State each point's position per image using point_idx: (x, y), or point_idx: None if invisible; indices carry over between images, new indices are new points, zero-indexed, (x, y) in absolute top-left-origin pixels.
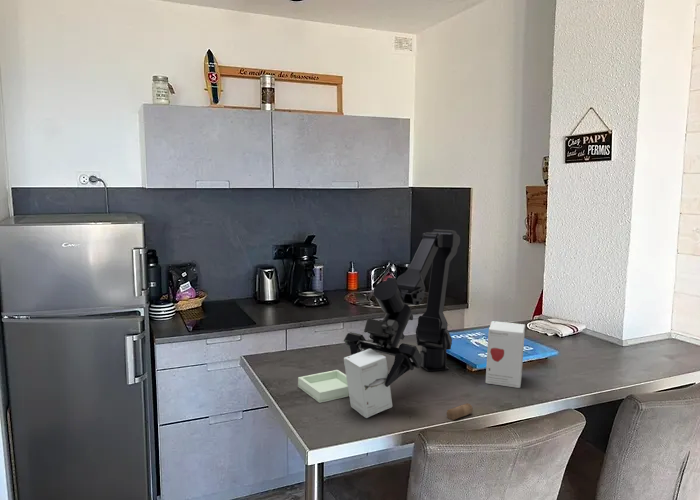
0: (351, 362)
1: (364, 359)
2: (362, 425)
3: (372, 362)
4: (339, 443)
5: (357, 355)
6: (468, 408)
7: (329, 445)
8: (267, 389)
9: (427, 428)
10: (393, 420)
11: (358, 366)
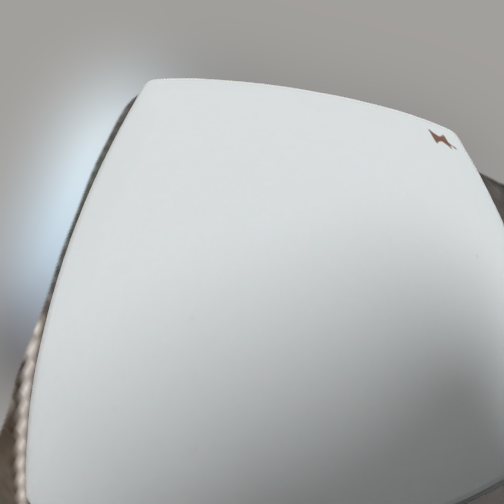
0: (322, 96)
1: (261, 169)
2: None
3: (83, 207)
4: (106, 145)
5: (452, 203)
6: None
7: (118, 123)
8: (492, 180)
9: (13, 439)
10: None
11: (170, 80)
